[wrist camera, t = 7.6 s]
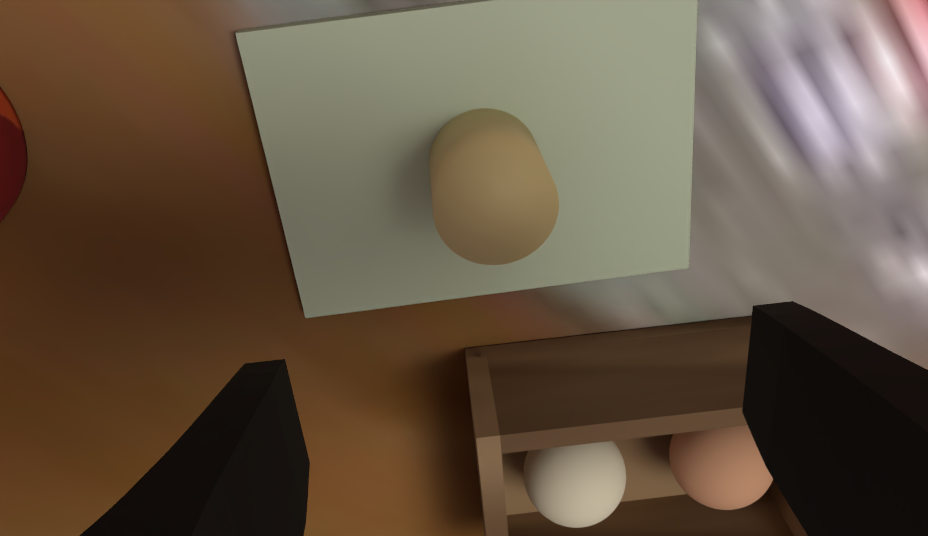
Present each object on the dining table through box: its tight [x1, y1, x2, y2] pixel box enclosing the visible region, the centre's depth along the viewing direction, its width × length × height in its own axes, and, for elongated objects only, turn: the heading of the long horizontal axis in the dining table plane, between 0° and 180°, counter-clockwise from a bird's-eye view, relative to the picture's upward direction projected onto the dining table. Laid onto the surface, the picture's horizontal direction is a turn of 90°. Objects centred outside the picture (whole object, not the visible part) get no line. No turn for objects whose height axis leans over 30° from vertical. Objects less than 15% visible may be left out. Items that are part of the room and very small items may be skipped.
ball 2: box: [669, 425, 773, 510], centre depth 23 cm, size 3×3×3 cm
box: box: [465, 316, 808, 536], centre depth 23 cm, size 7×10×4 cm
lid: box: [235, 0, 697, 318], centre depth 19 cm, size 8×11×4 cm
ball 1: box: [523, 441, 626, 528], centre depth 23 cm, size 3×3×3 cm
